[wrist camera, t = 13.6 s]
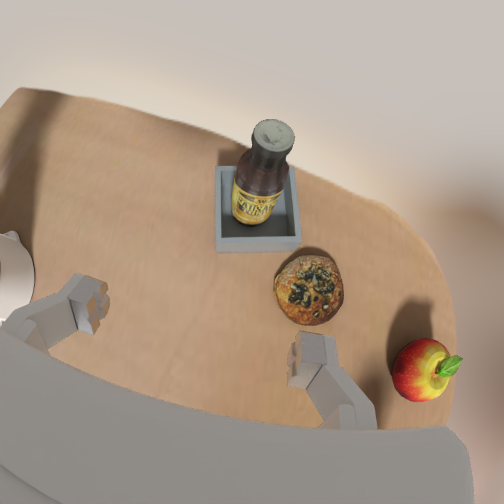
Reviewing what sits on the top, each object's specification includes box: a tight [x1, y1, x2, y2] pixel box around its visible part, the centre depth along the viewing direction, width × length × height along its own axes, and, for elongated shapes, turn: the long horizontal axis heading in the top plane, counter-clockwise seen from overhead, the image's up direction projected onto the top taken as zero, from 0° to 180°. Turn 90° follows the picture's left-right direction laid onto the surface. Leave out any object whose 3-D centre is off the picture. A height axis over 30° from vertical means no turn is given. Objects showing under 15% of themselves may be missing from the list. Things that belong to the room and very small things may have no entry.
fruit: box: [392, 338, 463, 402], centre depth 37 cm, size 11×11×10 cm
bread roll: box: [274, 255, 344, 326], centre depth 42 cm, size 11×11×5 cm
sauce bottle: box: [231, 119, 295, 227], centre depth 35 cm, size 7×6×20 cm
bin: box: [215, 166, 302, 254], centre depth 43 cm, size 12×12×6 cm
